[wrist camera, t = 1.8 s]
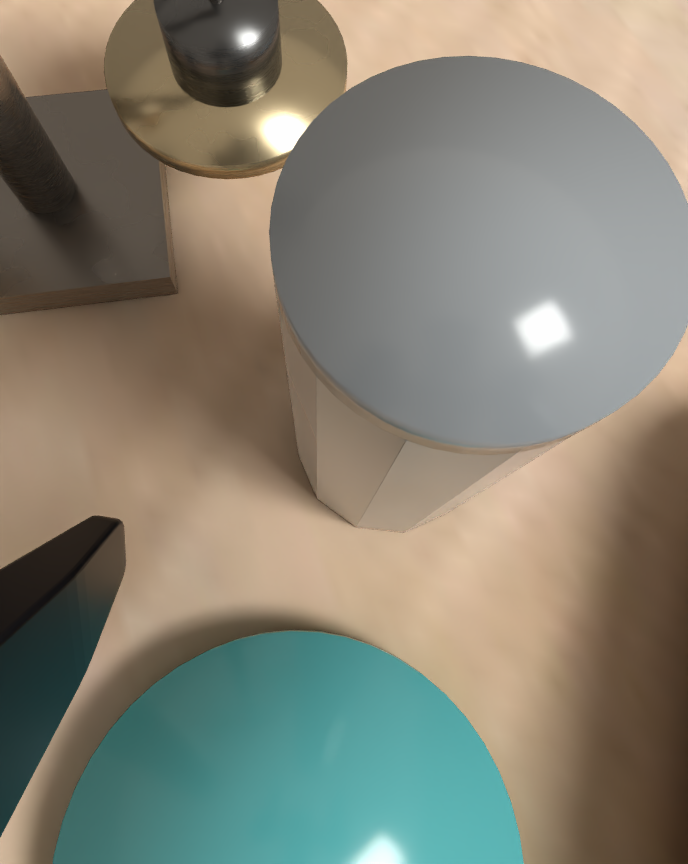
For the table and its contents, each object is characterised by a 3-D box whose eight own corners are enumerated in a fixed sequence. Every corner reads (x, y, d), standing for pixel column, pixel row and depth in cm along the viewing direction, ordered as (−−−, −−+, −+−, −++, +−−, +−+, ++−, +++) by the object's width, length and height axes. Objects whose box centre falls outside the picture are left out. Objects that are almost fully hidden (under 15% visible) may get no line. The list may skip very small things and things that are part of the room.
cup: (410, 571, 20) (558, 537, 8) (261, 461, 21) (178, 269, 9) (510, 425, 22) (770, 198, 9) (366, 326, 23) (428, -9, 10)
